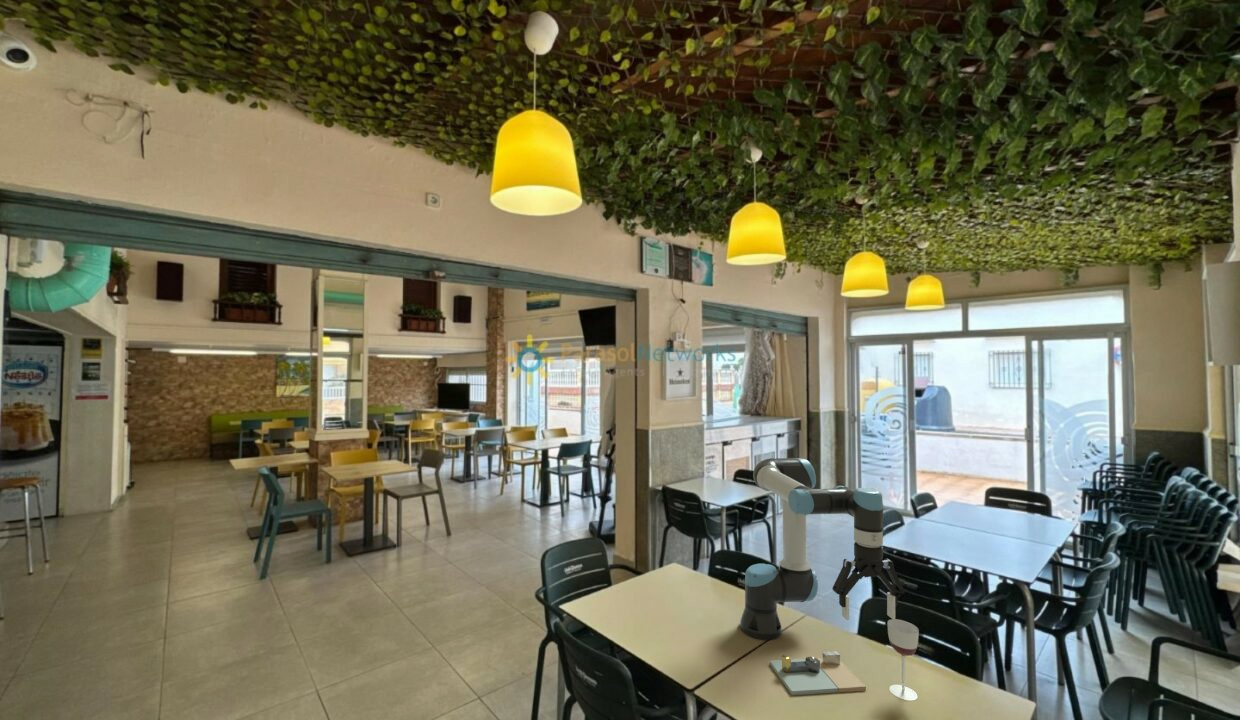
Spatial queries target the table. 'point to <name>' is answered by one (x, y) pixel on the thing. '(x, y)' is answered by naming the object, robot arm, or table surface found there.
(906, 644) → the wineglass
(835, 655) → the block
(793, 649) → the table surface
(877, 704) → the table surface
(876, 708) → the table surface
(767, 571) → the robot arm
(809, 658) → the swing bar
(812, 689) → the door board
